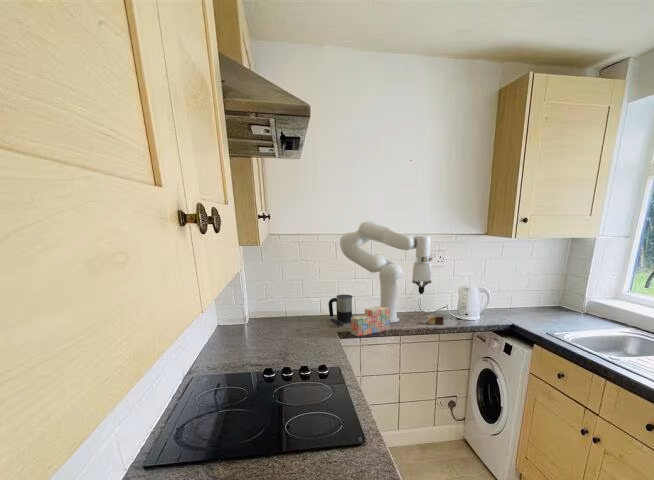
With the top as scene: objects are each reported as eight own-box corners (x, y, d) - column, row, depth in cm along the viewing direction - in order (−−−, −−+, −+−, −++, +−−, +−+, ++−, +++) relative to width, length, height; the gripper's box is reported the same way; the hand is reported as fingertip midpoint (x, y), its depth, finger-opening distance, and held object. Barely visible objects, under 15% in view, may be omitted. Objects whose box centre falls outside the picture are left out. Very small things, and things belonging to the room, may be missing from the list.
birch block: (428, 324, 233) (428, 317, 231) (427, 322, 236) (427, 315, 235) (435, 324, 233) (435, 317, 231) (434, 322, 236) (434, 315, 235)
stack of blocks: (358, 337, 209) (357, 313, 204) (351, 334, 214) (350, 311, 209) (389, 330, 222) (390, 307, 217) (382, 327, 226) (382, 305, 221)
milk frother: (351, 318, 244) (350, 293, 238) (356, 325, 230) (356, 299, 224) (327, 320, 240) (326, 295, 234) (331, 327, 226) (330, 300, 220)
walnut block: (435, 324, 232) (435, 316, 231) (434, 322, 237) (434, 315, 235) (443, 324, 232) (443, 316, 231) (442, 322, 237) (442, 315, 235)
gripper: (435, 259, 224) (433, 292, 231) (408, 258, 224) (407, 292, 231) (437, 260, 217) (435, 295, 224) (409, 260, 217) (408, 295, 224)
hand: (421, 293), depth 228 cm, fingers closed
